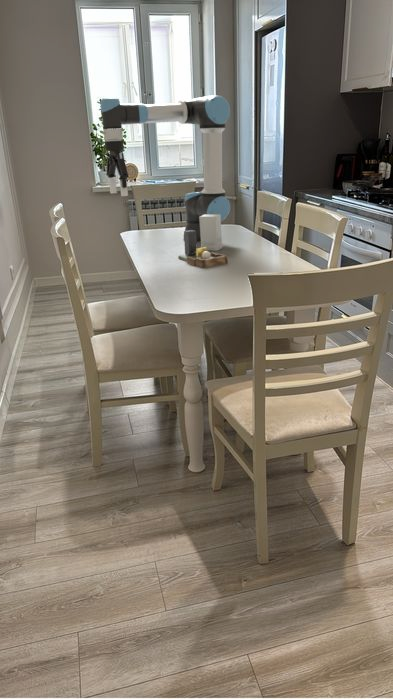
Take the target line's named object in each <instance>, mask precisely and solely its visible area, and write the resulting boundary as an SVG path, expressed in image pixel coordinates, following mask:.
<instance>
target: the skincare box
mask: <svg viewBox="0 0 393 699" xmlns="http://www.w3.org/2000/svg"><path fill="white" fill-rule="evenodd" d="M199 221H200V235H201V241H200V248H203V247H206V248H207V251H209V252H210V251H216V252H217V251H220V250H222V248H223V239H222V238H223V237H222V221H221V216H220V214H204V215H202V216H200V217H199Z"/></svg>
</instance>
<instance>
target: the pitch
mask: <svg viewBox="0 0 393 699" xmlns="http://www.w3.org/2000/svg"><path fill="white" fill-rule="evenodd" d="M210 254H211V257H210V258H209V259H203V258H202V257H199V258H197V257H196V255H190V256H189V255H186V254H181V255H177V256H178V260H182V261H184V262H186V263H187V264H189V265H192V266H197V267H200V268H203V269H204V268H205V269H206V268H210V267H214V266H220V265H225V264H228V260H229V258H228V255H227V254H222V253H215V252H210Z"/></svg>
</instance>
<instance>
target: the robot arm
mask: <svg viewBox="0 0 393 699" xmlns="http://www.w3.org/2000/svg"><path fill="white" fill-rule="evenodd" d="M100 113H101V119H102V130H103V131H102V135H103V138H104V150H105V152H107V153H106V176H107V177H108V183H109V192H110V194H118V190H117V181H116V180H117V179H116V178H117V176H116V170H117V173H118V175H119V177H118V180H119V187H120V197H127V196H129V192H128V191H129V190H128V182H127V179H128V178H129V173H128V169H127V164H126V162H125V155H124V153H123V152H121V151H124V149H125V148H124V146H125V145H124V141H123V139H124V136H123V135H124V134H123V127H122V126H123V125H135V124H136V125H138V124H139V125H140V124H160V123H175V122H176V123H179V124H181V125H184V124H185V125H186V124H187V125H188V124H189V125H196V126H197V125H199V130H200V132H201V133H202V143H203V144H202V147H203V148H202V149H203V152H202V154H203V159H202V160H203V189H202V190H201V191H198V192H197V191H196V192H195V191H194V192H189V193H185V197H184V203H185V223H186V224H185V228H184V231H188V230H194V231H196V236H197V243H198V242H200V243H201V235H200V221H199V217H200V216H202V215H204V214H220V216H221V222H222V221H224V220H225V219H226V218H227V217H228V216H229V213H230V210H231V202H230V200H229V199H228V198H227V197H226V190H225V189H224V188H223V132H224V131H225V130H226V123H227V122H228V120H229V119H230V117H231V108H230V104H229V102H228V101H227V100H226V98H225V97H223V96H221V95H217V94H215V95H214V94H213V95H207V96H200V97H195V98H193V99H187V100H186V99H185V100H179V101H178V102H177V103H175V102H174V103H153V104H152V103H151V104H150V103H149V104H148V103H147V104H144V103H139V102H137V103H121V102H120V99H119V98H118V97H107V98H102V99H101V100H100Z"/></svg>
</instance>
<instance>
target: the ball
mask: <svg viewBox="0 0 393 699" xmlns="http://www.w3.org/2000/svg"><path fill="white" fill-rule="evenodd" d="M210 257H211V252H210V251H209V250H207V251H204V252H203V253H202V258H203V259H209V258H210Z"/></svg>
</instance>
